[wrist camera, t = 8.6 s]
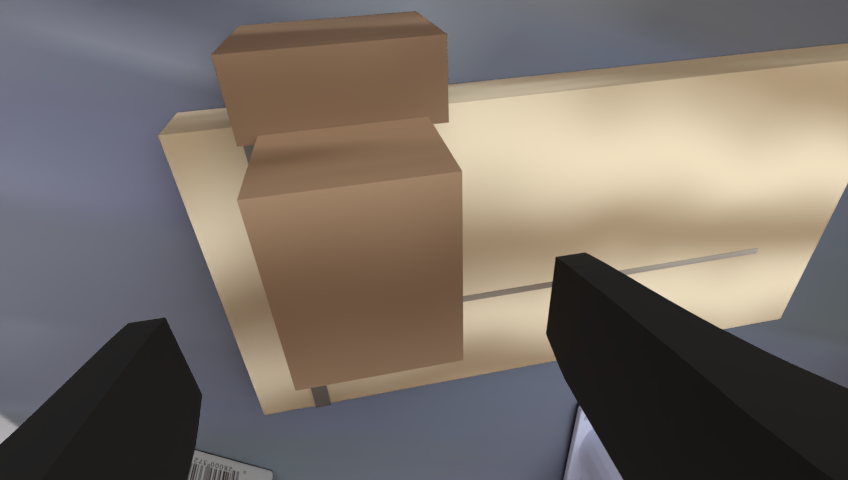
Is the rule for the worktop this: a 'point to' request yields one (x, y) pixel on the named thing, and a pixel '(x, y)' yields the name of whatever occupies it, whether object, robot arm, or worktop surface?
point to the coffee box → (224, 469)
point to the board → (579, 200)
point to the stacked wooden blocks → (350, 190)
